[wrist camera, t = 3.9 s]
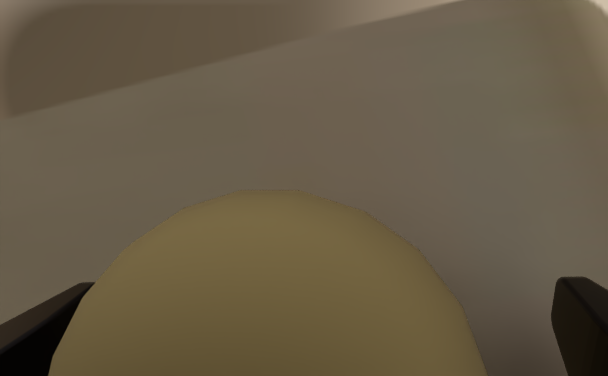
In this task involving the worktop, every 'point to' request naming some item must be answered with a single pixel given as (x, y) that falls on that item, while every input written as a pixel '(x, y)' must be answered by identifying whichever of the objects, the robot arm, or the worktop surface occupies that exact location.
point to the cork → (269, 298)
